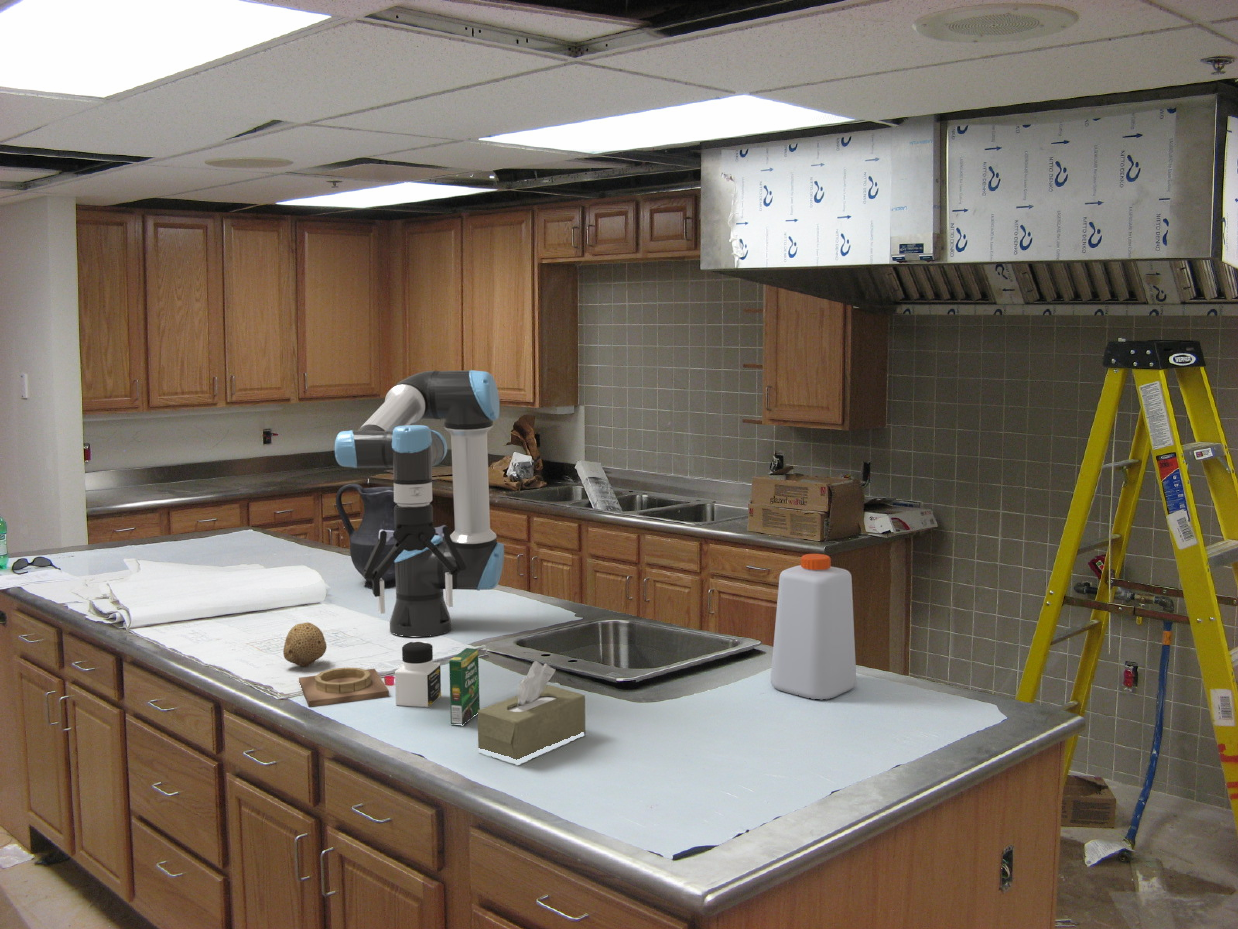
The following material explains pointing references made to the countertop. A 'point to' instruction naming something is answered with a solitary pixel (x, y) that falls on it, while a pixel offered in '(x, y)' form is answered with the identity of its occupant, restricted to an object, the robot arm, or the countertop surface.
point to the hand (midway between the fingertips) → (415, 608)
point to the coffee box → (464, 686)
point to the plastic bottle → (814, 630)
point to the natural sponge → (304, 644)
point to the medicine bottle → (417, 676)
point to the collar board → (342, 686)
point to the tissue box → (531, 717)
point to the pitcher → (371, 528)
